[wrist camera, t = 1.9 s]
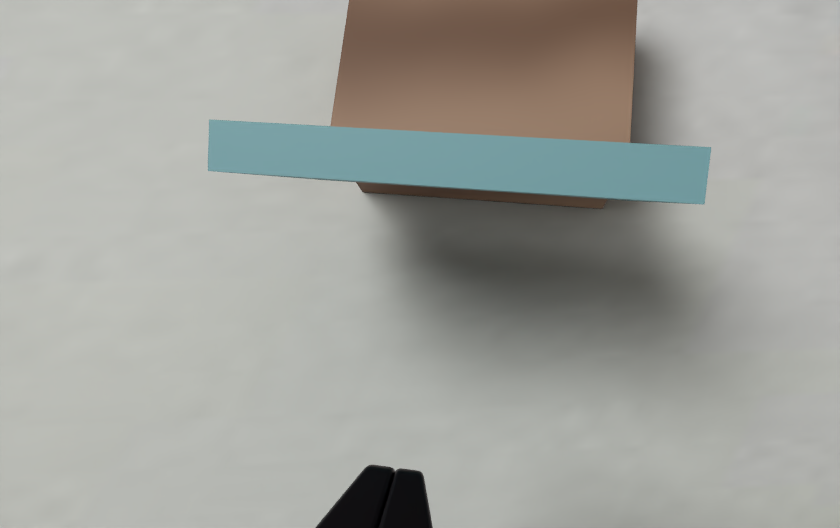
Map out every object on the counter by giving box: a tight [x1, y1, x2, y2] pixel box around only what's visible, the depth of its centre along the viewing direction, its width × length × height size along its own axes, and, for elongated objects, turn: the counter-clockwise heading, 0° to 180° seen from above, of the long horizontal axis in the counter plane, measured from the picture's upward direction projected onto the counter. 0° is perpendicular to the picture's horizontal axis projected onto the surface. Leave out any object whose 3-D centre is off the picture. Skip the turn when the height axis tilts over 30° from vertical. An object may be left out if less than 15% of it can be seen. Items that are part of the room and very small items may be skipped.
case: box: [331, 0, 637, 209], centre depth 22 cm, size 7×9×5 cm
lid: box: [208, 120, 711, 204], centre depth 15 cm, size 7×9×1 cm
